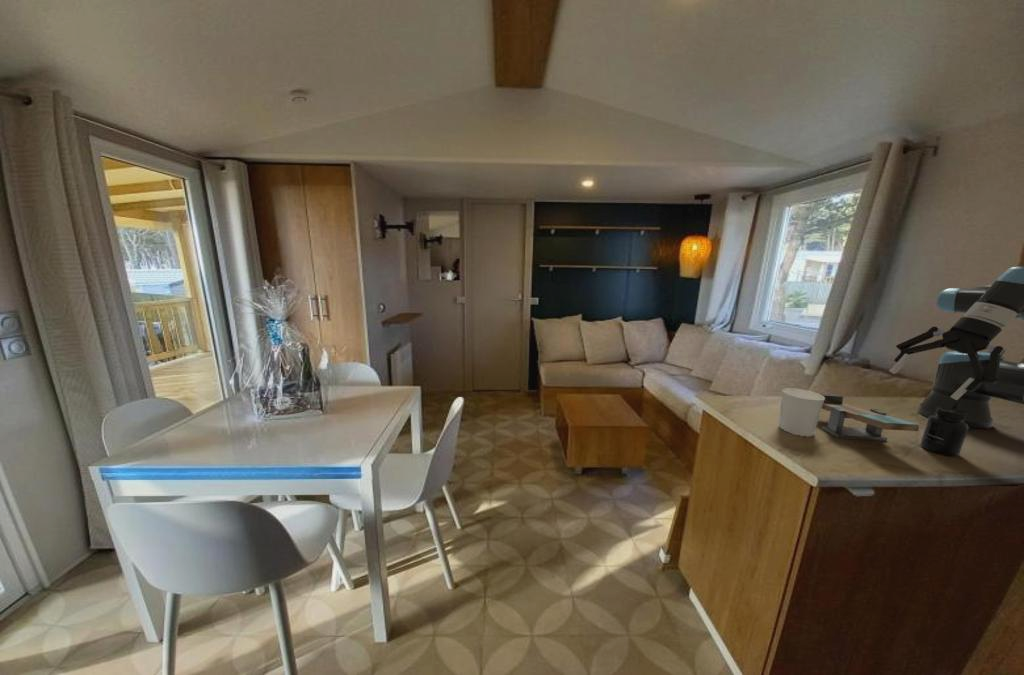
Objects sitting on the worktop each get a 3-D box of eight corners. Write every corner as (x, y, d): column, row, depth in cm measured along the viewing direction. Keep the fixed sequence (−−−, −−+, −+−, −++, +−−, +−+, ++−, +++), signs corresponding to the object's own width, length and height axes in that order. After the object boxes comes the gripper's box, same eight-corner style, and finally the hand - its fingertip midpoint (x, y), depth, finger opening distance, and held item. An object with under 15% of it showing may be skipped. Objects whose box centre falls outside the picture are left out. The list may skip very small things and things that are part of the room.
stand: (867, 431, 102) (873, 407, 101) (886, 441, 97) (893, 415, 95) (821, 428, 104) (826, 404, 102) (837, 438, 98) (843, 412, 96)
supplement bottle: (922, 450, 92) (933, 410, 89) (917, 441, 96) (928, 402, 94) (963, 460, 87) (976, 417, 85) (956, 450, 92) (968, 409, 90)
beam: (836, 408, 111) (838, 394, 111) (919, 433, 86) (921, 416, 86) (808, 406, 112) (809, 392, 112) (882, 431, 87) (884, 414, 87)
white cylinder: (817, 430, 103) (825, 393, 101) (816, 441, 96) (824, 402, 94) (777, 420, 110) (783, 385, 107) (774, 430, 102) (780, 393, 100)
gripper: (917, 302, 100) (865, 360, 107) (1055, 338, 79) (980, 408, 86) (926, 309, 104) (875, 366, 110) (1061, 346, 82) (988, 414, 89)
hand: (920, 384), depth 98 cm, fingers open, 13 cm apart
